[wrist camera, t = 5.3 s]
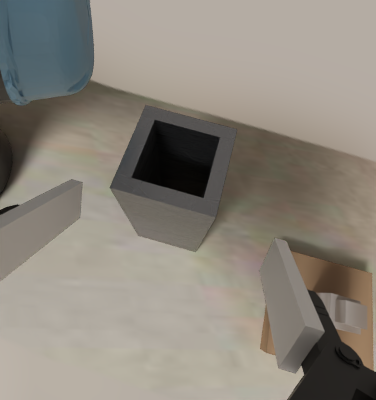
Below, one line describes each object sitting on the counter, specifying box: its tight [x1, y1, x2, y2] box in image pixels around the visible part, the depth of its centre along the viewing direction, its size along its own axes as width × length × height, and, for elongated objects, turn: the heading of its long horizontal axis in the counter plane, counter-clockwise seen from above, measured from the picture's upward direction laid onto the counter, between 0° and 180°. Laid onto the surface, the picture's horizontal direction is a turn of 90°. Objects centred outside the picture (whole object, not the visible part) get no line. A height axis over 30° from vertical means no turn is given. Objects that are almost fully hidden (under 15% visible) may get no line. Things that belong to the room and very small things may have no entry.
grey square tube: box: [110, 105, 237, 252], centre depth 20 cm, size 6×6×12 cm
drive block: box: [260, 251, 373, 370], centre depth 20 cm, size 9×9×6 cm
